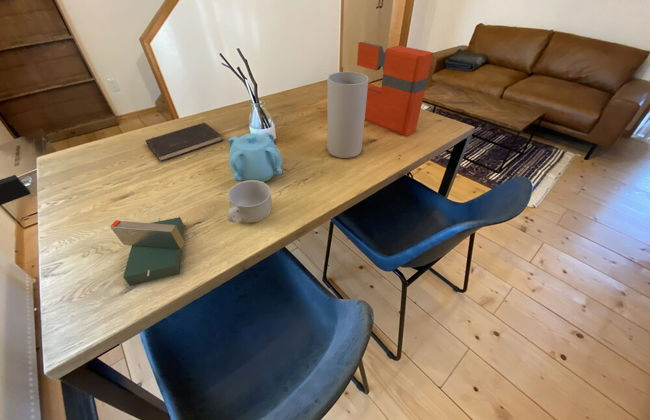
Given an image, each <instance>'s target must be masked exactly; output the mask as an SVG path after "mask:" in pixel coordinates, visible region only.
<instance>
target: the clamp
mask: <svg viewBox="0 0 650 420" xmlns="http://www.w3.org/2000/svg"><path fill="white" fill-rule="evenodd" d="M357 45H358V46H357V59H356V66H359V67H360V68H361V67H362V68H366V69H369V70H373V71H379V70H381V68H382V80H381V86H378V85H376V84H372V83H368V89H367V99H366V110H365V120H364V121H367V122H369V123H371V124H375V125H377V126H380V127H381V128H384V129H386V130H389V131H391V132H394V133H397V134H399V135H401V136H404V137H408V136H410V135H412V134H413V133H415V132H416V130H417V126H418V121H419V118H420V113H421V109H422V104H423V100H424V97H425V96H424V95H425V91H426V88H427V83H428V78H429V75H430V71H431V65H432V61H433V58H434V52H433V51H429V50H422V49H418V48H412V47H408V46H404V45H394V46H391V47H387V48H385V51H384V48H383V46H382V45H378V44H373V43H368V42H364V41H360V42H358V43H357Z"/></svg>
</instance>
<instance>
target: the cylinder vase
mask: <svg viewBox="0 0 650 420" xmlns="http://www.w3.org/2000/svg"><path fill="white" fill-rule="evenodd" d="M368 84H369V77H368V75H367V74H364V73H361V72H356V71H338V72H337V71H336V72H334V73H331V74H329V75H328V76H327V105H326V106H327V107H326V108H327V109H326V110H327V124H326V125H327V129H326V130H327V131H326V132H327V137H326V138H327V143H326V144H327V147H326V148H327V151H328V153H329V155H332V157H333V156H334V157H335V158H339V159H352V158H354V157H357V156H359V155H360V154H361V152H362V150H363V141H364V130H365V121H366V120H365V110H366V99H367V89H368Z"/></svg>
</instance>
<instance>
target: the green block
mask: <svg viewBox="0 0 650 420" xmlns="http://www.w3.org/2000/svg"><path fill="white" fill-rule="evenodd" d="M151 223H154V224H167V225H176V227H177V229H178V231H179V233H180V235H181V237H182V238H183V239H184V229H185V224H184V222H183V220H182V218H181V216H178V217H172V218H168V219H164V220H161V217H158V219H157V221H153V222H151ZM196 236H197V235H196V234H191V235H189V238H192V237H196ZM182 250H183V247H182V248H181V249H169V248H156V247H144V246H132V245H131V247H130V251H129V254H128V258H127V261H126V266H125V269H124V273H123V276H122V278H123V280H124V281H125V282H126V283H127V284H128V285H129V286H134V285H138V284H142V283H146V282H151V281H155V280H159V279H163V278H167V277H168V278H169V277H171V276H175V275H180V269H181V262H182V261H181V260H182ZM116 253H118V250H115V251H110V253H109V254H110V255H113V254H116Z"/></svg>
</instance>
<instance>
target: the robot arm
mask: <svg viewBox="0 0 650 420" xmlns="http://www.w3.org/2000/svg"><path fill="white" fill-rule="evenodd" d="M29 195H31V191H30V189H29V188H28V187H27V186H26V185H25V183H24V182H23V181H22V180H20V178H19V177H18V176H17V175H16V174H13V175H11V176H7V177H4V178H1V179H0V206H2V205H5V204H7V203H10V202H13V201H16V200H19V199H21V198H24V197H27V196H29Z"/></svg>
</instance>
